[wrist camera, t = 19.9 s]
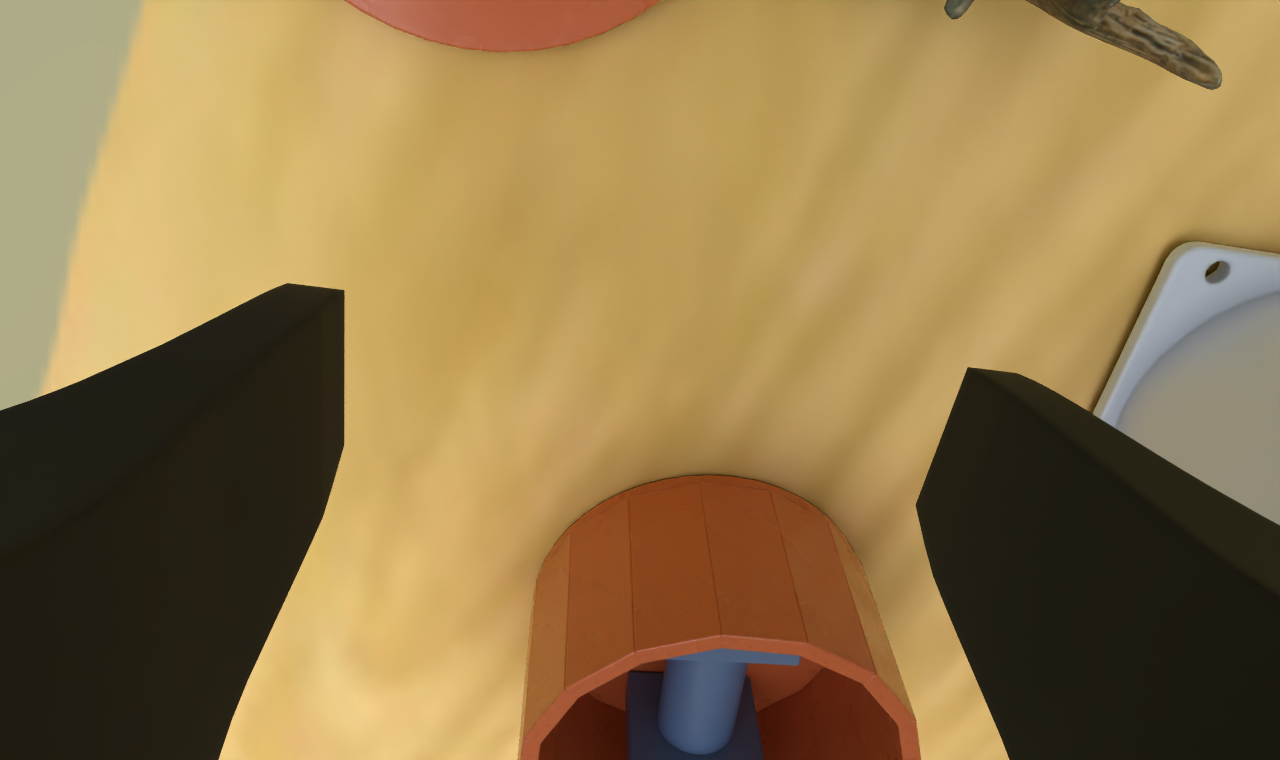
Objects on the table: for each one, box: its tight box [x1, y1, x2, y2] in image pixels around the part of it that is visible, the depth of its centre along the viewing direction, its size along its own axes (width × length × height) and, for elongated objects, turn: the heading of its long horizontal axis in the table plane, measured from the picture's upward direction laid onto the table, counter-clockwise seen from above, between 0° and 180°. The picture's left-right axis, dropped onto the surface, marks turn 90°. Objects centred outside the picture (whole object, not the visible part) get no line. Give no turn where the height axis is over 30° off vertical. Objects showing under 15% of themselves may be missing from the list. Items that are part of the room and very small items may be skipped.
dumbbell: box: [625, 648, 801, 760], centre depth 24 cm, size 6×3×3 cm, turn 174°
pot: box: [518, 475, 921, 760], centre depth 23 cm, size 9×9×5 cm
